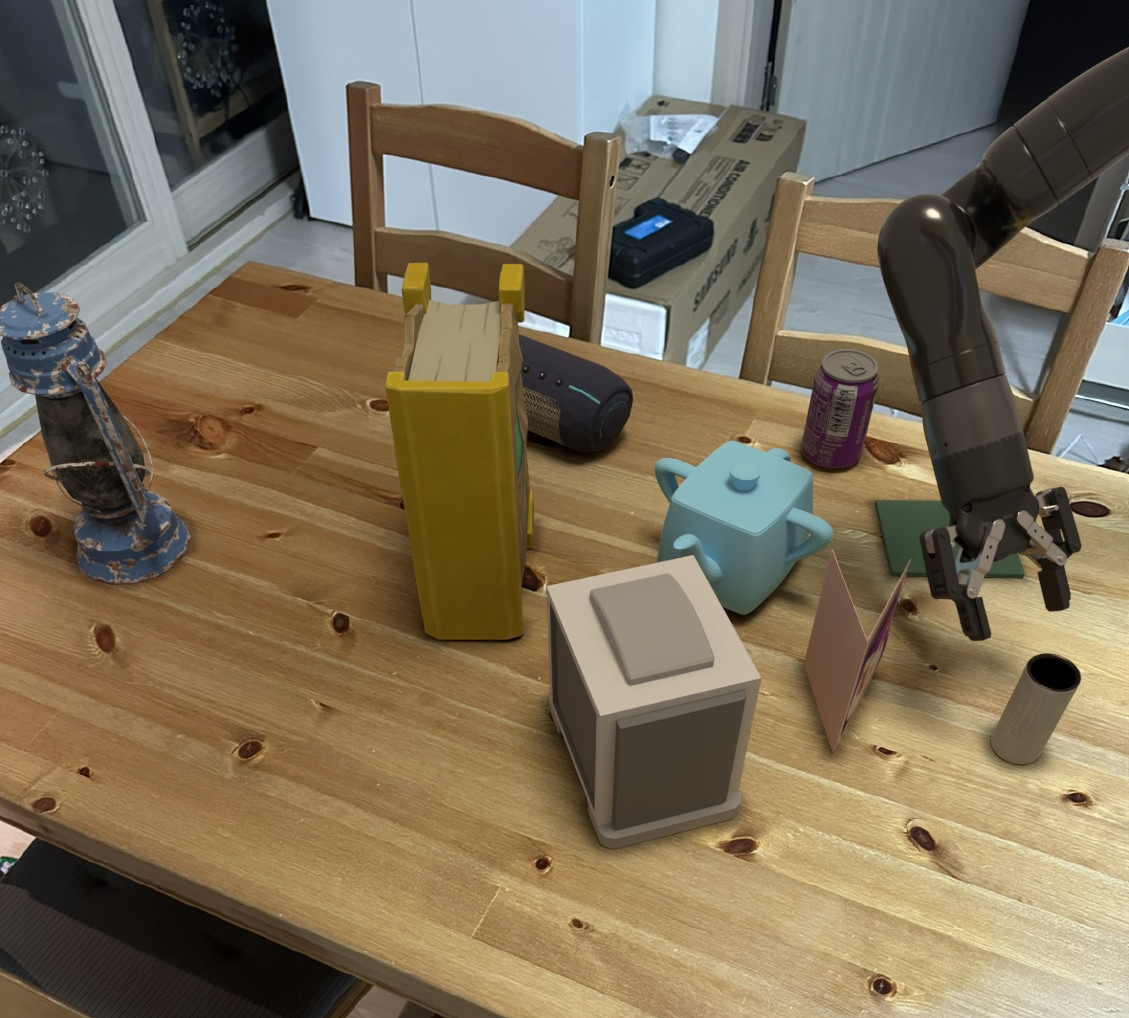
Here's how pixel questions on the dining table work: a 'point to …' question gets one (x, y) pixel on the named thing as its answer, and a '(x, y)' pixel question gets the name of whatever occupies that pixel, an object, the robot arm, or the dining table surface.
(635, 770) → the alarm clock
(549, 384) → the portable speaker
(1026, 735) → the planter
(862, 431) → the beverage can
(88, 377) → the lantern
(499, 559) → the decorative book
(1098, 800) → the dining table surface
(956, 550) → the green mat
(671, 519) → the teapot
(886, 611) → the greeting card
